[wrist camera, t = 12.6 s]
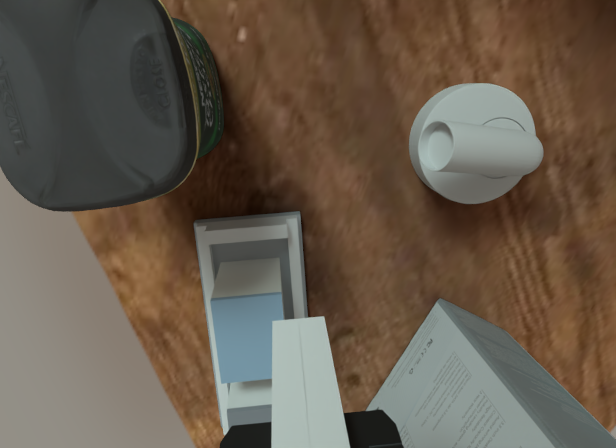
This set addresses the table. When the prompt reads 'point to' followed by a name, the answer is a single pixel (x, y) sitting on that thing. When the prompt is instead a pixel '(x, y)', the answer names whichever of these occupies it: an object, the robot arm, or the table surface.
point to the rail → (248, 246)
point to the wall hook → (474, 142)
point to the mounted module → (250, 402)
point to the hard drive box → (480, 391)
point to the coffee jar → (102, 101)
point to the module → (246, 317)
